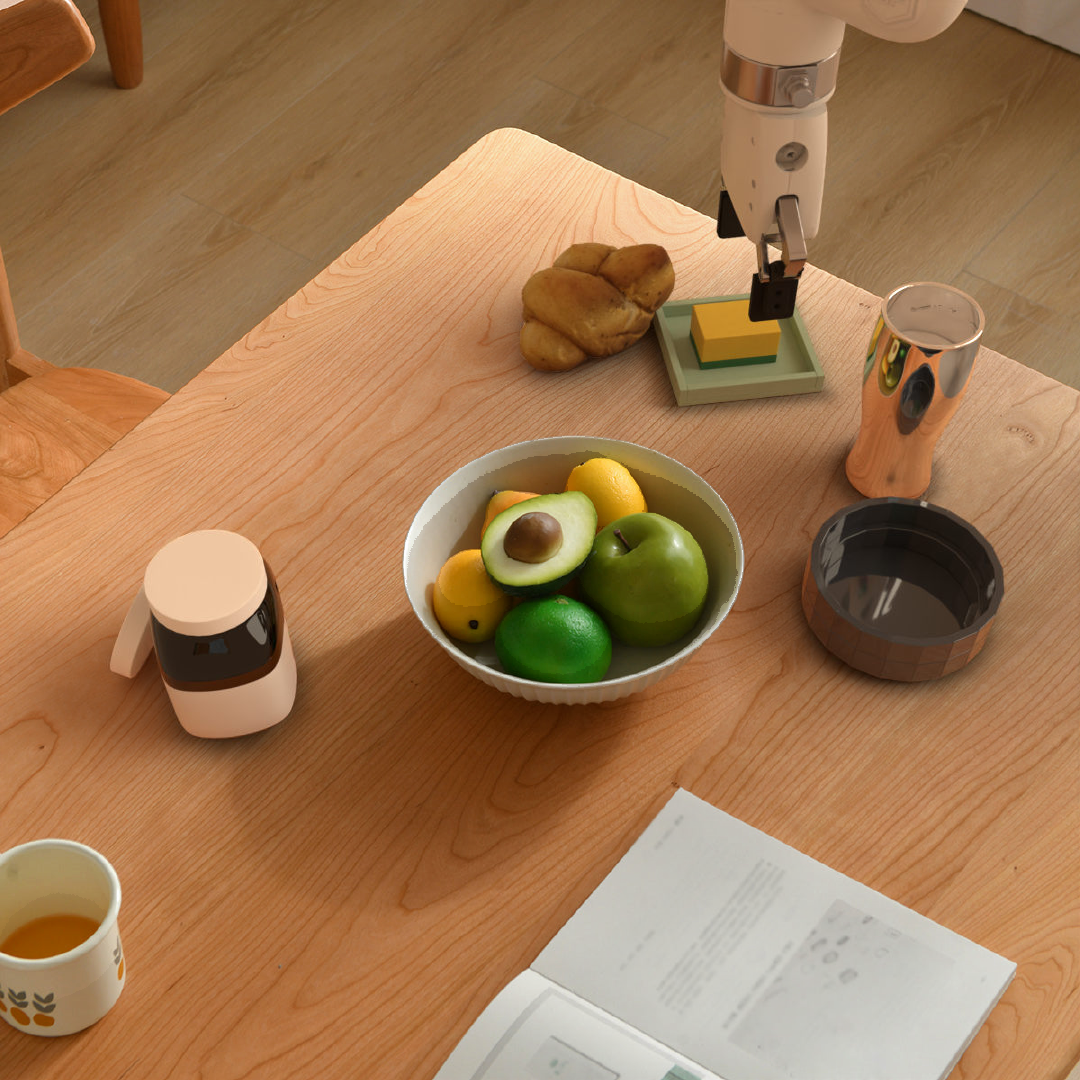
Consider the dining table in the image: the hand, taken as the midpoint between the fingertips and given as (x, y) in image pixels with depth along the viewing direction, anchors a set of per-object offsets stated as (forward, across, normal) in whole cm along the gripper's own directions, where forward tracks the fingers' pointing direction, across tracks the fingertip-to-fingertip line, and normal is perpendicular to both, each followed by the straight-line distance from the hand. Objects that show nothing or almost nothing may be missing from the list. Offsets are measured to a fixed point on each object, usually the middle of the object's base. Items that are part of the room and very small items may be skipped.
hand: (753, 275), depth 100 cm
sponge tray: (+8, 0, +1) cm, 8 cm away
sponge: (+7, 0, +1) cm, 8 cm away
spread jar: (+8, -25, +41) cm, 49 cm away
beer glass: (+9, -14, -7) cm, 18 cm away
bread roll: (+8, +4, +12) cm, 15 cm away
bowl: (+8, -26, -4) cm, 27 cm away
